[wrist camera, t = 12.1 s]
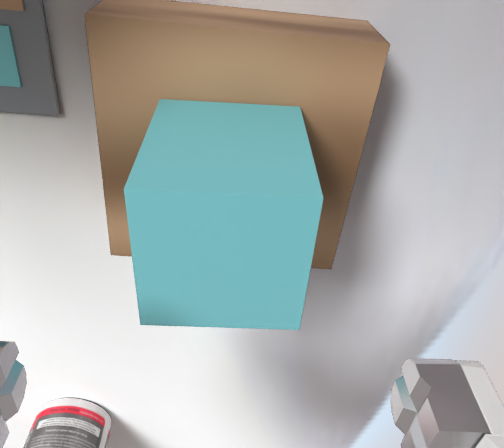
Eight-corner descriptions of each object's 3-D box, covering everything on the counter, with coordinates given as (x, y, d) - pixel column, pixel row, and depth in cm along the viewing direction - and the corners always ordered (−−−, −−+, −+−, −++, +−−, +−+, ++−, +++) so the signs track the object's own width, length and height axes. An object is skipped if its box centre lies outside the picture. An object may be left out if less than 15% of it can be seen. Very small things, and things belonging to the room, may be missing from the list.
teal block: (159, 99, 16) (123, 189, 11) (299, 106, 16) (323, 198, 12) (166, 214, 19) (140, 324, 14) (285, 219, 19) (299, 329, 14)
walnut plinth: (113, -8, 18) (84, 13, 15) (364, 18, 18) (390, 44, 15) (129, 205, 24) (110, 254, 20) (319, 219, 24) (331, 269, 21)
